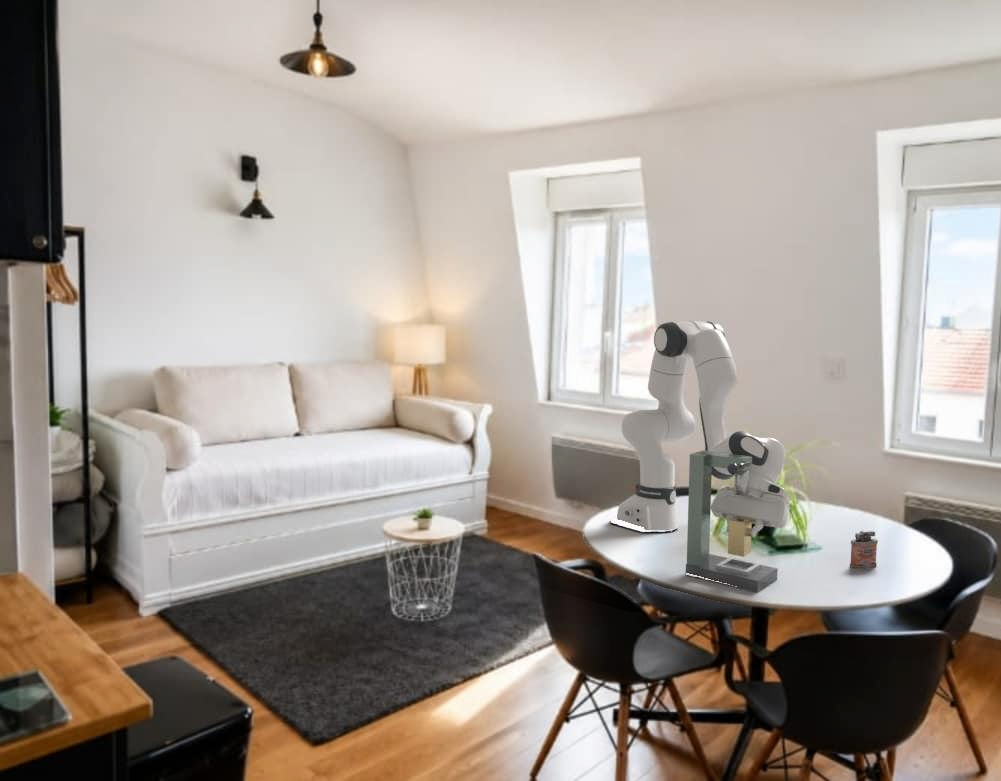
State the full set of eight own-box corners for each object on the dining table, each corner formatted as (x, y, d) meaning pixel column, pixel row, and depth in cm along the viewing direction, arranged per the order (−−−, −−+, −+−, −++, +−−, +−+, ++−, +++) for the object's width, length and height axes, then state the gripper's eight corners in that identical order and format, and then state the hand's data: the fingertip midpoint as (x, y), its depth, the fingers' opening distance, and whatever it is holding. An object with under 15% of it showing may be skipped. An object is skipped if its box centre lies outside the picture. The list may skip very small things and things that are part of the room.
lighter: (855, 569, 222) (856, 534, 221) (846, 565, 226) (848, 531, 225) (879, 567, 225) (881, 532, 224) (870, 563, 228) (872, 528, 227)
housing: (727, 553, 213) (728, 519, 212) (734, 549, 217) (735, 516, 216) (743, 556, 210) (744, 522, 209) (750, 553, 214) (751, 519, 213)
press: (676, 580, 213) (680, 457, 210) (707, 563, 227) (710, 448, 224) (749, 597, 200) (754, 466, 197) (777, 579, 214) (782, 456, 211)
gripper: (717, 479, 224) (700, 520, 218) (790, 490, 211) (774, 534, 205) (723, 492, 228) (707, 533, 222) (795, 503, 215) (780, 547, 208)
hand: (740, 534), depth 213 cm, fingers closed on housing, 4 cm apart
